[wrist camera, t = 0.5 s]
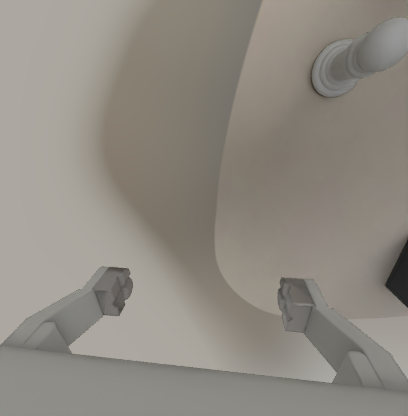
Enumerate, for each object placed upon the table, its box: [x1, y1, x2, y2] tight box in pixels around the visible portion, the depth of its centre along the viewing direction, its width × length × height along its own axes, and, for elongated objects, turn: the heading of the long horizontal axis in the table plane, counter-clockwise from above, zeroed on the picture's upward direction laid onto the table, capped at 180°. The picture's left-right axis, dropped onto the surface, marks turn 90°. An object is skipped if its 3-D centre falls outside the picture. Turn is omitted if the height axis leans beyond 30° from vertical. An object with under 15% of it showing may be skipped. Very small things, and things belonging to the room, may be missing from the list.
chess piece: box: [312, 17, 408, 97], centre depth 18 cm, size 5×5×9 cm
